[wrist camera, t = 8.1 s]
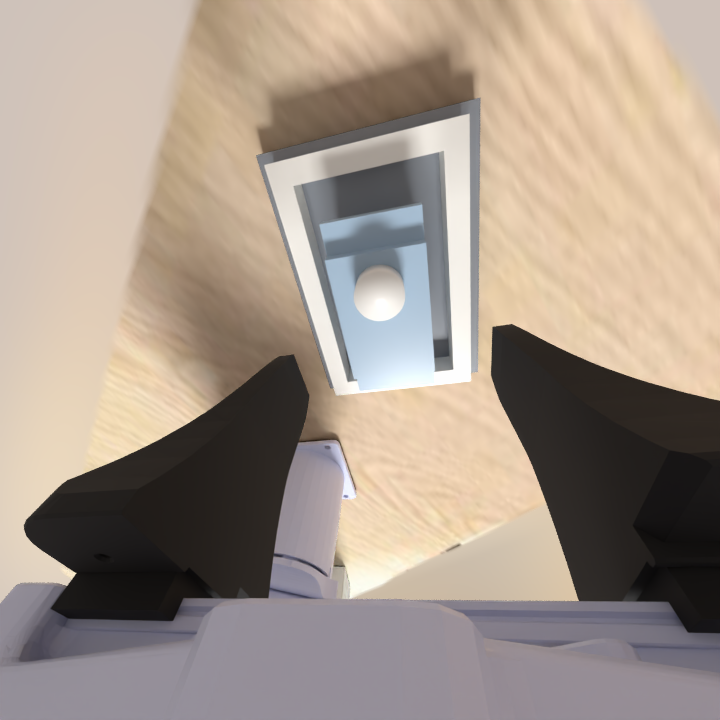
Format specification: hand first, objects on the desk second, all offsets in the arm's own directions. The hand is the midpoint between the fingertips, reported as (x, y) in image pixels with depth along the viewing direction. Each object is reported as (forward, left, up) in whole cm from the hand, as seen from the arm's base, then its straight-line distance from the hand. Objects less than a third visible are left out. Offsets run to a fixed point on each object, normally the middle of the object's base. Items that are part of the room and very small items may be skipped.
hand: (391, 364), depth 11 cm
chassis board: (0, +1, -8) cm, 8 cm away
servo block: (0, 0, -7) cm, 7 cm away
